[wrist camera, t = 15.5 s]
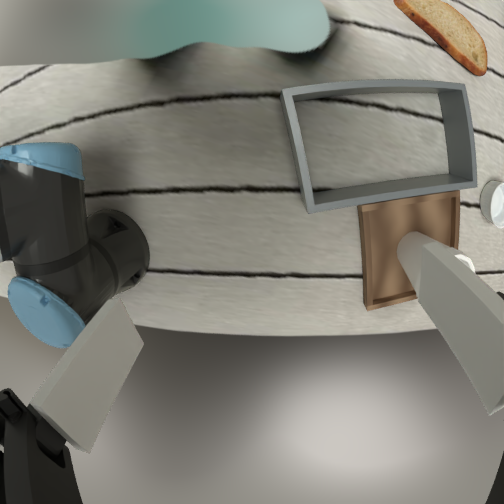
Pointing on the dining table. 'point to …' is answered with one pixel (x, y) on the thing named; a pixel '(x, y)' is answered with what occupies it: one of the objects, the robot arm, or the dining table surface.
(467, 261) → the foam cup
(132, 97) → the dining table surface
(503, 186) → the ramekin
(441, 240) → the walnut tray
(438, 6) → the bread slice
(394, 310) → the dining table surface
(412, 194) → the deep open rectangular frame
